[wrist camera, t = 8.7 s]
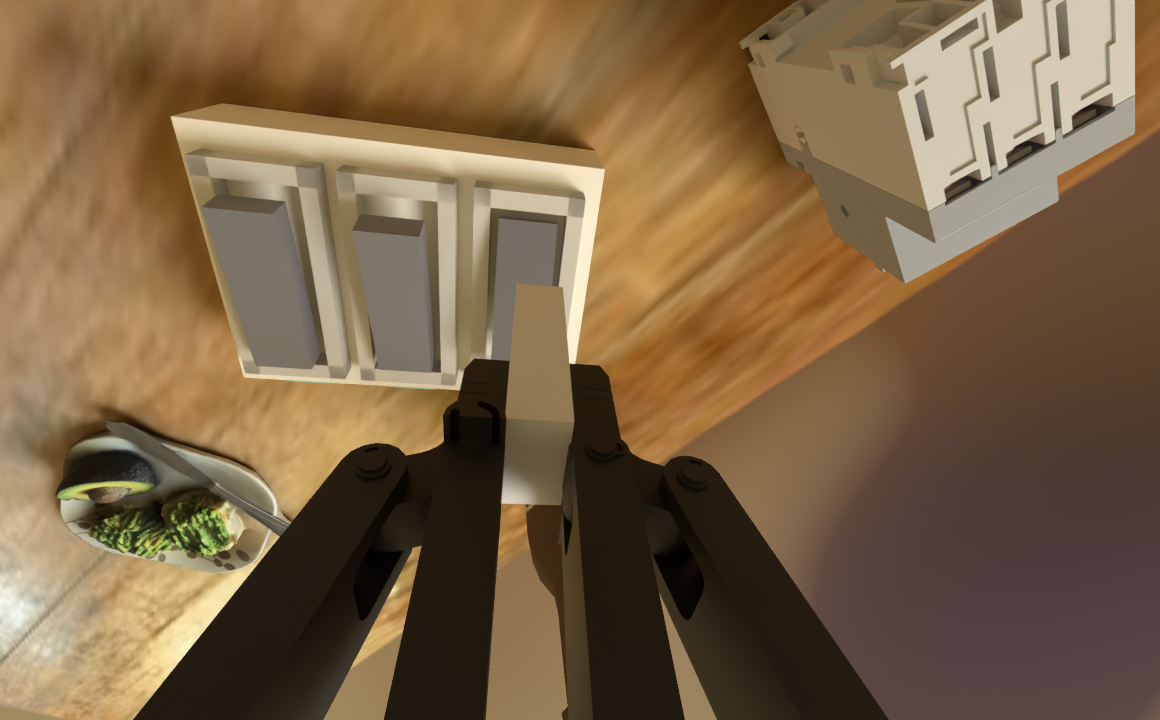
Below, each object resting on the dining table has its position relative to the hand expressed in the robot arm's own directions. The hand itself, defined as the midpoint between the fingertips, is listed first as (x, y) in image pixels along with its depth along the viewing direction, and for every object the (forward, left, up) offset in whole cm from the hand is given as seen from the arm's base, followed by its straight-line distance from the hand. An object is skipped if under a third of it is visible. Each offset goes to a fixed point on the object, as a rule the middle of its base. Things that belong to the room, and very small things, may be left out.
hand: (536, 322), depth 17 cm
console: (+6, -7, -19) cm, 21 cm away
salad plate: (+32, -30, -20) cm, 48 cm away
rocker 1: (+6, -14, -13) cm, 20 cm away
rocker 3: (+6, 0, -13) cm, 14 cm away
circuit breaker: (-6, +19, -20) cm, 28 cm away
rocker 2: (+6, -7, -13) cm, 16 cm away
